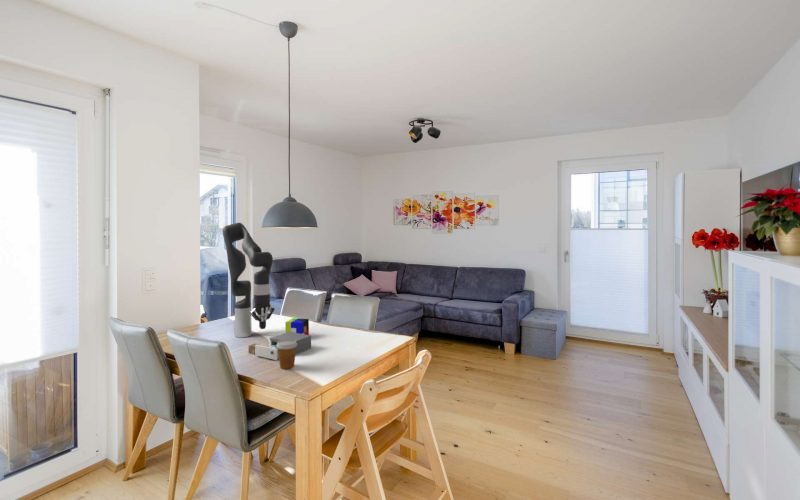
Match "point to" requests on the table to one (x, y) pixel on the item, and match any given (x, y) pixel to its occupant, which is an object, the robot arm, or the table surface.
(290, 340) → the disposable coffee cup
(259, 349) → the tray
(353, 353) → the table surface
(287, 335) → the block
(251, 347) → the walnut block
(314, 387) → the table surface
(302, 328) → the puzzle toy
